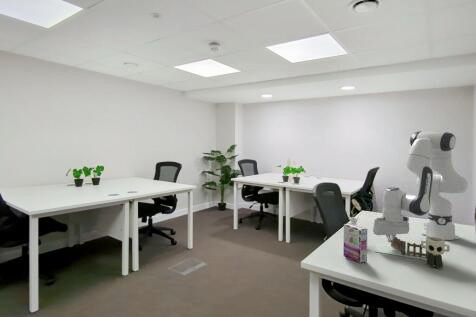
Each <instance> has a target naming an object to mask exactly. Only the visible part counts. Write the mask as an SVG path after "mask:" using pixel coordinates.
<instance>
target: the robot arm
mask: <svg viewBox="0 0 476 317" xmlns="http://www.w3.org/2000/svg"><path fill="white" fill-rule="evenodd" d="M456 142H457V137H456V135H454V134H453V133H451V132H443V131H422V130H421V131H415V132H414V133H412V134H411V136H410V138H409V144H410V148H409V151H408V155H407V157H406V161H405V165H406V167H407V170H409V171H410V172H411V173H413V174H414V175H416V176H417V178H416V182H415V184H416V187H417V192H416V195H415V194H410V193H407V192H405V191H403V190H401V188H399V187H397V186H396V187H395V186H394V187H391V186H390V187H386V188H385V189H384V191H383V195H382V206H383V208H382V212H381V214H382V216H381V217H376V219H374V223H373V228H372V232H373V234H374V235H377V236H385V237H386V239H387V242H388V243H391V242H394V239H395V237H397V235H407V234H409V232H410V223H409V221H410V218H409V217H408V216H405V215H403V214H402V212H401V211H405V212H406V213H407V212H408V213H411V214H413V215H415V216H419V217H423V216H425V215H427V218H428V219H427V221H426V222H423V229H422V231H421V235H422V236H426V237H437V238H441V239H443V240H445V241H453V240H459V236H457V235H456V225H455V224H454V223H453V216H452V207H453V206H452V203H451V201H450V200H449V199H447V198H445V197H443V196H441V194H440V193H442V194H443V193H444V194H446V193H447V194H463V193H466V191H467V190H468V188H469V183H468V180H467V179H466V178H465V177H464V176H462V175H460V174H459V173H458V172H457V171H456V170H455V168H454V166H453V158H452V150H453V149H454V148H455V146H456ZM434 172H436V173H438V174H434ZM391 235H392V236H391Z"/></svg>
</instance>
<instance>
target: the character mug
mask: <svg viewBox="0 0 476 317" xmlns="http://www.w3.org/2000/svg"><path fill="white" fill-rule="evenodd" d="M445 241H446V240H443V239H441V238H437V237H429V236H426V238H425V240H421V241H420V244H421V247H422V249H425V250H426V251H427V252H429V253H428V256H427V260H426V263H425V264H426V265H427V266H429V267H432V268H436V269H442V268H443V267H444V265H443V264H444V262H443V257H442V255H444V254H445V252H450V251H451V249H450V248H451V246H450V244H446V242H445ZM424 244H425V245H424ZM445 247H446V248H445Z"/></svg>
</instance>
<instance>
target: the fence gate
mask: <svg viewBox="0 0 476 317" xmlns="http://www.w3.org/2000/svg"><path fill="white" fill-rule="evenodd" d="M391 236H392V235H391ZM391 236H390V237H391ZM402 241H403V240H401V239H400V238H398V237H397V236H396V237H395V239H394V242H390V245H391V246H392V247H394V248H395V249H397V250H398V251H400V252H402Z"/></svg>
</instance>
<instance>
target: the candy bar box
mask: <svg viewBox="0 0 476 317" xmlns="http://www.w3.org/2000/svg"><path fill="white" fill-rule="evenodd" d="M343 237H344V238H343V256H344V257H346V258H349V259H350V260H352V261H354V262H357V263H358V264H362V263H367V261H368V228H366V227H362V226H360V225H357V224H356V225H354V224H352V223H345V224H343Z"/></svg>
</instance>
